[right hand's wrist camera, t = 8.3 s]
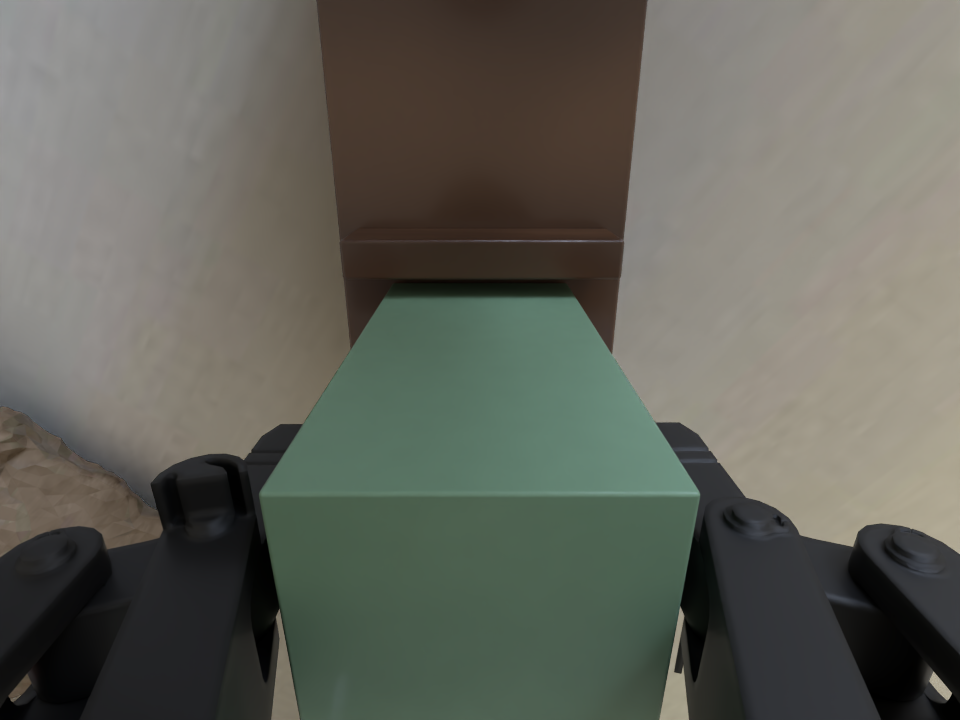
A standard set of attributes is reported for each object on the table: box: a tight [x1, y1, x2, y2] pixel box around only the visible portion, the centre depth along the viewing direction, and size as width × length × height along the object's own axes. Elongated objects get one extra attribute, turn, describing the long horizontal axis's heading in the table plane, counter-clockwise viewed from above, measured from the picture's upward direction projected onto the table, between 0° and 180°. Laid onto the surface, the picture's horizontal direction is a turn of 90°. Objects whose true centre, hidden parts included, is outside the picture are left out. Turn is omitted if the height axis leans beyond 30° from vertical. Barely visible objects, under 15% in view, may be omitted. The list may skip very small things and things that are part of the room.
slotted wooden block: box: [317, 0, 647, 354], centre depth 16 cm, size 26×8×11 cm, turn 0°
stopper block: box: [259, 283, 700, 720], centre depth 12 cm, size 5×5×10 cm
